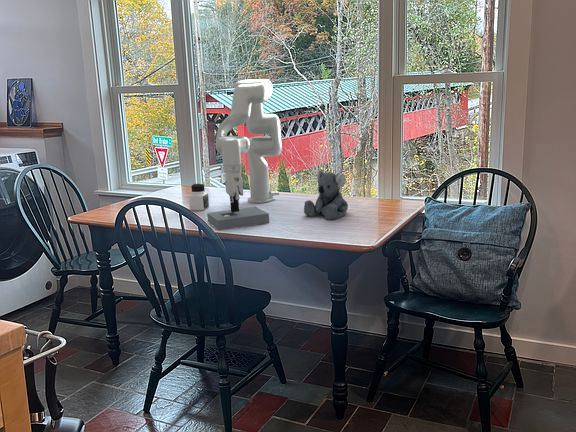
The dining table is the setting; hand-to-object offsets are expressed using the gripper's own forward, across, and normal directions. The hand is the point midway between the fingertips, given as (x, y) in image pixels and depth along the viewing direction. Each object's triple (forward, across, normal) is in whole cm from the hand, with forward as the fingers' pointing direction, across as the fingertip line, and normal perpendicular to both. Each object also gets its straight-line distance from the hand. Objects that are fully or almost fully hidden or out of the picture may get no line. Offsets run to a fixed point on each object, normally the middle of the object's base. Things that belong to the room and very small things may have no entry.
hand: (235, 211), depth 241 cm
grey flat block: (+5, 0, -1) cm, 5 cm away
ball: (+3, -1, +4) cm, 5 cm away
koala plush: (+5, -9, -40) cm, 41 cm away
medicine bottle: (+5, +36, +6) cm, 37 cm away
